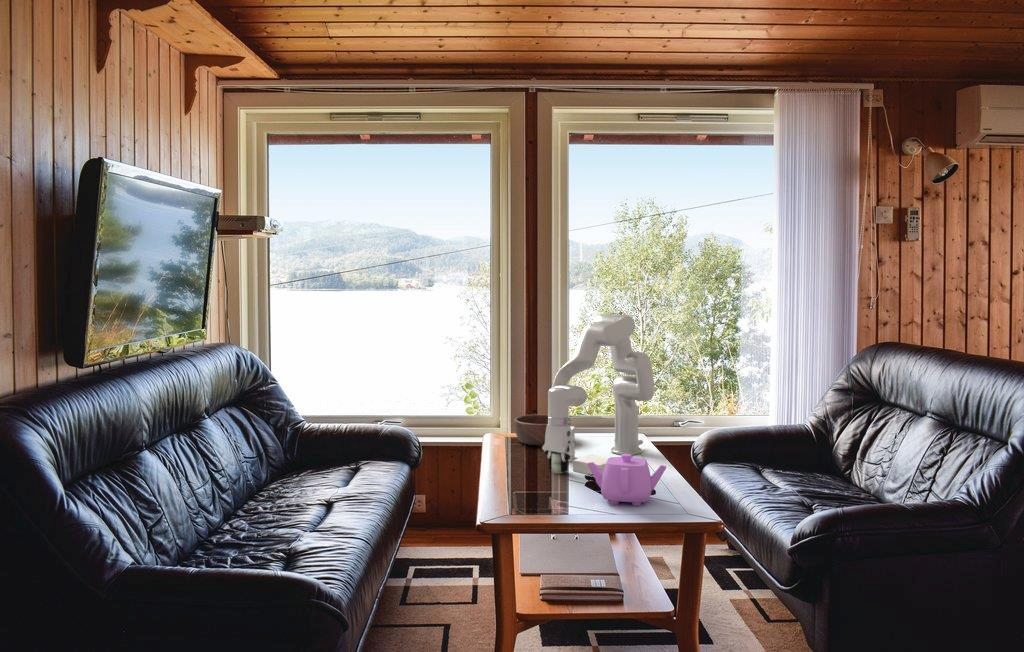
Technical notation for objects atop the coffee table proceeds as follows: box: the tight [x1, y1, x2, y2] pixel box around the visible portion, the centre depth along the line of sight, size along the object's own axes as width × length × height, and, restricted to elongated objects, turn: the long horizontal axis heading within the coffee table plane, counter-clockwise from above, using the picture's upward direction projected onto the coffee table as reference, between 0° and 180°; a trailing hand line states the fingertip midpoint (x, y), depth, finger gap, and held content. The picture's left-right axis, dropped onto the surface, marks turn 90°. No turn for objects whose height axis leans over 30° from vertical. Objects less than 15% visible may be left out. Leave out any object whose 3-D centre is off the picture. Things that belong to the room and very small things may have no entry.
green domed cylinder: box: [551, 452, 566, 475], centre depth 276 cm, size 5×5×7 cm
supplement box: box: [568, 425, 576, 462], centre depth 297 cm, size 7×7×13 cm
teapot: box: [587, 454, 667, 507], centre depth 240 cm, size 19×18×15 cm
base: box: [572, 454, 610, 475], centre depth 279 cm, size 12×12×4 cm
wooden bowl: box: [513, 413, 572, 447], centre depth 329 cm, size 25×25×10 cm
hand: (558, 469), depth 277 cm, fingers closed on green domed cylinder, 5 cm apart
